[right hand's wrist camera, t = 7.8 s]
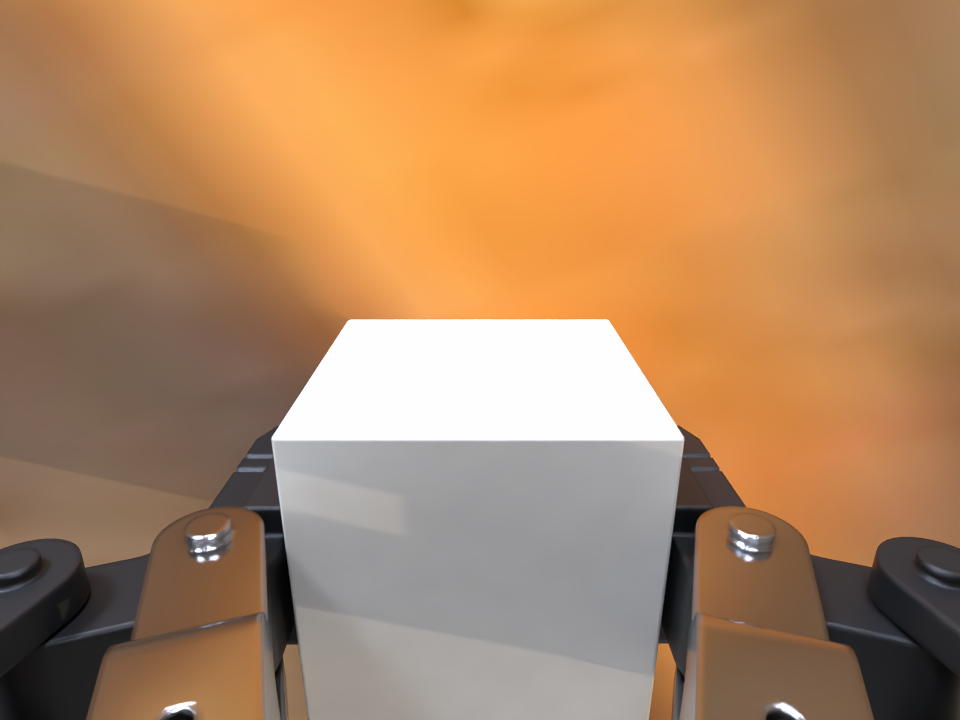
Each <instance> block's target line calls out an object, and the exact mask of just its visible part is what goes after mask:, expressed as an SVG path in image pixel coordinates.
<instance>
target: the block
mask: <svg viewBox="0 0 960 720" xmlns="http://www.w3.org/2000/svg"><path fill="white" fill-rule="evenodd" d="M271 440H272V448H273V456H274V463H275V471H276V479H277V486H278V494H279V502H280V509H281V517H282V525H283V532H284V540H285V548H286V555H287V563H288V571H289V578H290V586H291V594H292V601H293V609H294V617H295V624H296V632H297V640H298V647H299V655H300V663H301V670H302V678H303V686H304V693H305V701H306V709H307V716H308V720H649V713H650V705H651V697H652V690H653V682H654V674H655V666H656V658H657V650H658V642H659V635H660V627H661V619H662V611H663V603H664V595H665V588H666V580H667V572H668V564H669V556H670V548H671V540H672V533H673V525H674V517H675V509H676V501H677V493H678V486H679V478H680V470H681V462H682V454H683V446H684V437H683V435H682V433H681V432H680V430H679V429H678V427H677V426H676V424H675V423H674V421H673V419H672V418H671V416H670V415H669V413H668V412H667V410H666V409H665V407H664V405H663V404H662V402H661V401H660V399H659V398H658V396H657V395H656V393H655V392H654V390H653V388H652V387H651V385H650V384H649V382H648V381H647V379H646V378H645V376H644V374H643V373H642V371H641V370H640V368H639V367H638V365H637V364H636V362H635V360H634V359H633V357H632V356H631V354H630V353H629V351H628V350H627V348H626V347H625V345H624V343H623V342H622V340H621V339H620V337H619V336H618V334H617V333H616V331H615V329H614V328H613V326H612V325H611V323H610V322H609V320H349V321H348V322H347V323H346V325H345V326H344V328H343V329H342V331H341V333H340V334H339V336H338V337H337V339H336V340H335V342H334V343H333V345H332V346H331V348H330V349H329V351H328V352H327V354H326V355H325V357H324V359H323V360H322V362H321V363H320V365H319V366H318V368H317V369H316V371H315V372H314V374H313V375H312V377H311V378H310V380H309V381H308V383H307V384H306V386H305V388H304V389H303V391H302V392H301V394H300V395H299V397H298V398H297V400H296V401H295V403H294V404H293V406H292V407H291V409H290V410H289V412H288V413H287V415H286V417H285V418H284V420H283V421H282V423H281V424H280V426H279V427H278V429H277V430H276V432H275V433H274V435H273V436H272V439H271Z"/></svg>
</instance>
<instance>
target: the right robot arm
mask: <svg viewBox="0 0 960 720" xmlns="http://www.w3.org/2000/svg"><path fill="white" fill-rule="evenodd" d="M278 427H279V426H277V427H275V428H274V429H272V430H271V431H269V432H268V433H266V434H265V435H263V436H261V437H260V438H258V439H257V440H256V441H255V443H254V444H253V446H252V447H251V448H250V450H249V451H248V453H247V454H246V458H245V459H243V460H242V461H241V463H240V464H239V466H238V467H237V471H236V472H234V473H233V474H232V476H231V477H230V479H229V480H228V481H227V483H226V484H225V486H224V487H223V489H222V490H221V491H220V493H219V494H218V496H217V497H216V499H215V500H214V502H213V503H212V504H211V506H210V507H209V508H208V509H204V510H200V511H197V512H194V513H191V514H189V515H186V516H184V517H182V518H180V519H178V520H176V521H174V522H173V523H171V524H170V525H168V526H167V527H166V528H165V529H163V530H162V531H161V532H160V533H159V534H158V535H157V537H156V538H155V540H154V542H153V545H152V548H151V552H150V554H147V555H144V556H141V557H136V558H132V559H128V560H123V561H118V562H113V563H108V564H103V565H97V566H92V567H87V568H85V566H84V562H83V558H82V555H81V552H80V549H79V548H78V546H77V545H76V544H74V543H72V542H70V541H66V540H62V539H39V540H32V541H27V542H23V543H19V544H15V545H12V546H9V547H6V548H3V549H0V720H289V717H288V702H287V686H286V676H285V669H284V662H283V653H284V650H285V648H286V645H287V644H298V640H297V632H296V624H295V617H294V609H293V601H292V594H291V586H290V578H289V571H288V563H287V555H286V548H285V540H284V532H283V525H282V517H281V509H280V502H279V494H278V486H277V479H276V471H275V463H274V456H273V448H272V440H271V439H272V436H273V435H274V433H275V432H276V430H277V429H278ZM677 427H678V429H679V430H680V432H681V433H682V435H683V437H684V446H683V454H682V462H681V470H680V478H679V486H678V493H677V501H676V509H675V517H674V525H673V533H672V540H671V548H670V556H669V564H668V572H667V580H666V588H665V595H664V603H663V611H662V619H661V627H660V635H659V642H658V643H669V646H670V649H671V652H672V654H673V657H674V660H675V662H676V669H675V676H674V686H673V701H672V716H671V720H960V549H959V548H956V547H954V546H951V545H948V544H945V543H942V542H938V541H934V540H929V539H924V538H916V537H898V538H892V539H889V540H886V541H884V542H882V543H881V544H880V545H879V546H878V548H877V551H876V555H875V558H874V562H873V566H872V567H867V566H862V565H857V564H852V563H847V562H842V561H837V560H832V559H827V558H822V557H818V556H814V555H811V554H810V552H809V548H808V545H807V542H806V540H805V539H804V537H803V536H802V534H801V533H800V532H799V531H798V530H797V529H795V528H794V527H793V526H792V525H790V524H789V523H787V522H786V521H784V520H782V519H780V518H778V517H776V516H774V515H771V514H769V513H766V512H763V511H760V510H756V509H752V508H746V506H745V505H744V503H743V502H742V500H741V499H740V497H739V496H738V494H737V493H736V492H735V490H734V489H733V487H732V486H731V484H730V483H729V481H728V480H727V478H726V477H725V475H724V474H723V473H722V471H719V467H718V465H717V464H716V462H715V461H714V459H713V458H710V454H709V452H708V451H707V449H706V448H705V446H704V445H703V443H702V442H701V441H700V439H699V438H697V437H696V436H694V435H692V434H691V433H689V432H688V431H686V430H685V429H683V428H682V427H680V426H677Z"/></svg>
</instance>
